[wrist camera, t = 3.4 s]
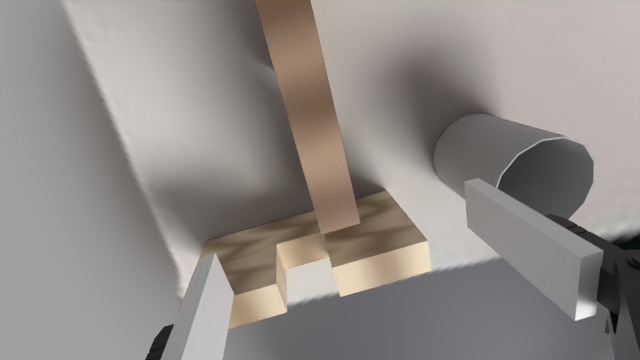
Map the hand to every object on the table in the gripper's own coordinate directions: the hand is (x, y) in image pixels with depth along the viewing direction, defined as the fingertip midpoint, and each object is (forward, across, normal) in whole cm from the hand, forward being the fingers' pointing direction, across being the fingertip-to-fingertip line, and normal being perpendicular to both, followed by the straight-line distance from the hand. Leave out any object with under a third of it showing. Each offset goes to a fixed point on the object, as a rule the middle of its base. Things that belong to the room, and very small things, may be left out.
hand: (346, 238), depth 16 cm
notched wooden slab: (+16, -3, -8) cm, 18 cm away
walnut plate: (+16, 0, +6) cm, 17 cm away
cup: (+16, +16, -5) cm, 24 cm away
